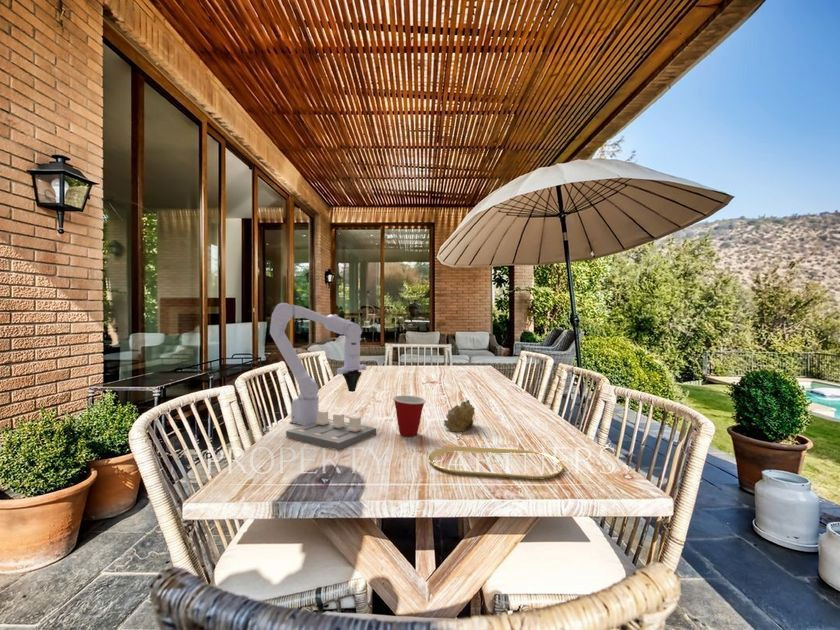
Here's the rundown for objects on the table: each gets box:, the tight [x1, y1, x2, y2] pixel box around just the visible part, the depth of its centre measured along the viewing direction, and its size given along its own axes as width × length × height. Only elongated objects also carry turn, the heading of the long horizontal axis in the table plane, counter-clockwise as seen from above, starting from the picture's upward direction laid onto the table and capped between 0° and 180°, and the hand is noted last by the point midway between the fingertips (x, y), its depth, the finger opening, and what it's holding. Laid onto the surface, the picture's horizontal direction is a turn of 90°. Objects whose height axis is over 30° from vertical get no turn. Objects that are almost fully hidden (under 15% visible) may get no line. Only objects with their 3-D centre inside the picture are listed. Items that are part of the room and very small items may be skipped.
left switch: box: [316, 409, 330, 425], centre depth 138 cm, size 3×3×4 cm
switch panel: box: [285, 418, 377, 451], centre depth 132 cm, size 22×18×2 cm
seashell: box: [443, 399, 475, 433], centre depth 144 cm, size 11×14×10 cm
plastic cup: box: [393, 395, 427, 438], centre depth 135 cm, size 11×11×12 cm
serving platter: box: [428, 445, 564, 480], centre depth 109 cm, size 19×35×2 cm, turn 81°
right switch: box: [348, 415, 362, 432], centre depth 131 cm, size 3×3×4 cm
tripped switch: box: [331, 412, 346, 428], centre depth 135 cm, size 3×3×4 cm
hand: (351, 391), depth 152 cm, fingers closed
